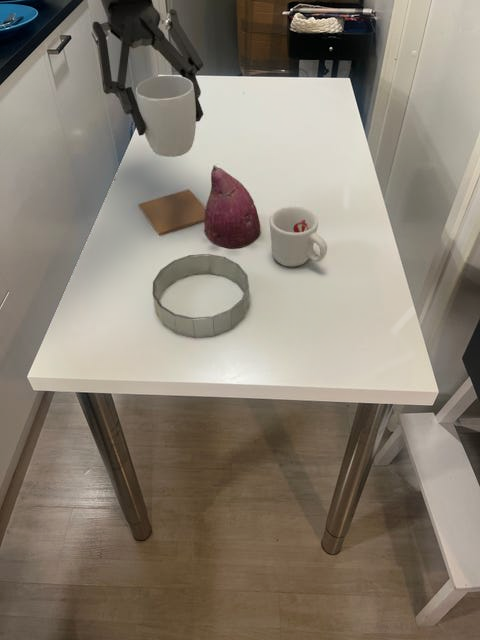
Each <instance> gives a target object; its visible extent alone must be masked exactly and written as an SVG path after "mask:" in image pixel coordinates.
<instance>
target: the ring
mask: <svg viewBox="0 0 480 640" xmlns="http://www.w3.org/2000/svg"><path fill="white" fill-rule="evenodd" d="M205 274H206V275H208V274H210V275H214V276H221V277H224V278H226V279H228V280H229V281H231V282H234V283H235V284H236V285H238V287H239V288H240V289H241V290H242V292H243V295H242V297H241V299H240V300H239V301H238V302H236V304H234V305H233V306H232V307H231V308H229V309H227V310H225V311H222V312H220V313H217V314H214V315H212V316H199V317H198V316H197V317H191V316H188V315H182V314H178V313H175V312H173V311H171V310H169V309H168V308H167V307H165V306H164V305H162V303H161V302H160V299H161V298H162V295H163V294H164V292H165V290H166V289H168V288H169V287H170V286H171V285H172V284H174V283H175V282H177V281H179V280H182V279H184V278H187V277H190V276H194V275H205ZM152 300H153V304H154V310H155V313H156V316H157V317H158V319H159V321H160V322H161V324H162V326H164V327H166V328H167V329H168V330H170V331H172V332H173V333H174V334H176V335H180V336H185V337H189V338H194V339H197V338H198V339H199V338H213V337H216V336H219V335H221V334H224V333H226V332H229V331H231V330H233V329H235V327H236V326H237V325H238V324H240V323H241V322H242V321H243V320H244V319H245V317H246V314H247V312H248V311H249V307H250V283H249V277H248V274H247V272H246V271H245V270H244V269H243V268H242V267H241V265H240V264H238V263H237V262H236V261H233V260H231V259H229V258H227V257H225V256H223V255H217V254H211V253H200V254H189V255H186V256H183V257H180V258H177V259H173V260H172V261H170V262H169V263H168V264H167V265H165V266H164V267H163V268H161V269H160V270H159V271H158V273H157V274H156V276H155V277H154V280H153V281H152Z"/></svg>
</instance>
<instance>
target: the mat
mask: <svg viewBox="0 0 480 640" xmlns="http://www.w3.org/2000/svg"><path fill="white" fill-rule="evenodd" d="M138 208H139V209H140V210H141V212H142V213H143V215H144V216H145V217H146V219H147V220H148V222H149V223H150V224H151V226H152V227H153V230H155V232H156V234H158V236H163V235H165V234H170V233H172V232H175V231H179V230H181V229H185V228H188V227H192V226H194V225H197V224H200V223H204V217H205V209H206V206H204V205H203V203H201V201H200V200H199V199H198V198H197V197H196V196H195V195H194V193H193V192H192V191H191V190H190V189H189V188H188V189H185V190H181V191H178V192H175V193H171V194H167V195H164V196H161V197H157V198H154V199H150V200H147V201H143V202H140V203H138Z"/></svg>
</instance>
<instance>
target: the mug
mask: <svg viewBox="0 0 480 640" xmlns="http://www.w3.org/2000/svg"><path fill="white" fill-rule="evenodd" d="M135 99H136V102H137V104H138V108H139V111H140V113H141V115H142V118H143V121H144V124H145V126H146V130H145V133H144V136H145V139H146V140H147V144H148V145H149V147H150V149H151V150H152V152H153V153H154V154H155V155H157V156H160V157H166V158H175V157H180V156H183V155H185V154H187V153H188V152H189V151H191V150H192V147H193V145H194V142H195V137H196V129H197V122H196V104H195V93H194V87H193V83H192V82H191V80H189V79H187V78H185V77H182V76H180V75H157V76H152V77H149V78H145V79H144V80H142V81H141V82H139V83H138V84H137V86H136V87H135Z"/></svg>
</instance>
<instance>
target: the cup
mask: <svg viewBox="0 0 480 640" xmlns="http://www.w3.org/2000/svg"><path fill="white" fill-rule="evenodd" d="M318 227H319V219H318V217H317V215H316V214H315V213H314V212H313V211H312V210H310V209H308V208H305V207H301V206H296V205H293V206H292V205H291V206H284V207H280V208H278V209H276V210H275V211H273V213H272V214H271V215H270V218H269V229H270V243H271V253H272V256H273V258H274V260H275V261H276V262H277V263H279V264H280V265H282V266H286V267H298V266H301V265H303V264H306V262H307V261H308V260H310V261H313V262H316V263H317V262H321V261H323V260H324V259H325V257H326V256H327V253H328V245H327V241H325V239H324V238H323V237H322V236H320V235H319V234H318V233H317V230H318ZM314 244H316V245H317V246H318V248H319V254H317V253H316V252H315V250H314Z"/></svg>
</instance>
